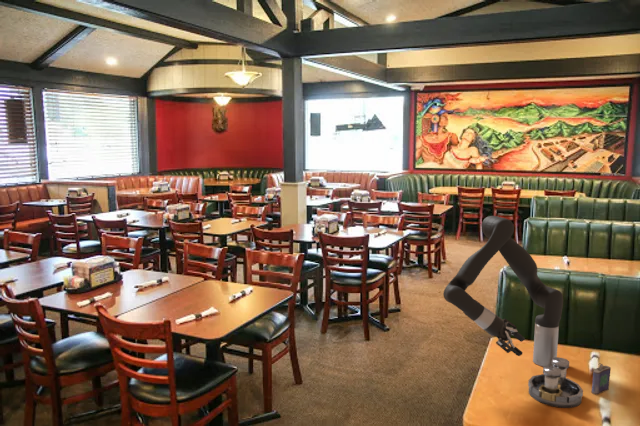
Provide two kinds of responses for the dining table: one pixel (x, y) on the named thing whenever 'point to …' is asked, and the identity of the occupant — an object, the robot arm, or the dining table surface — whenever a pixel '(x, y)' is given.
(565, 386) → the carrier
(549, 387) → the silver capped cylinder
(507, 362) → the dining table surface
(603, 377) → the flask
